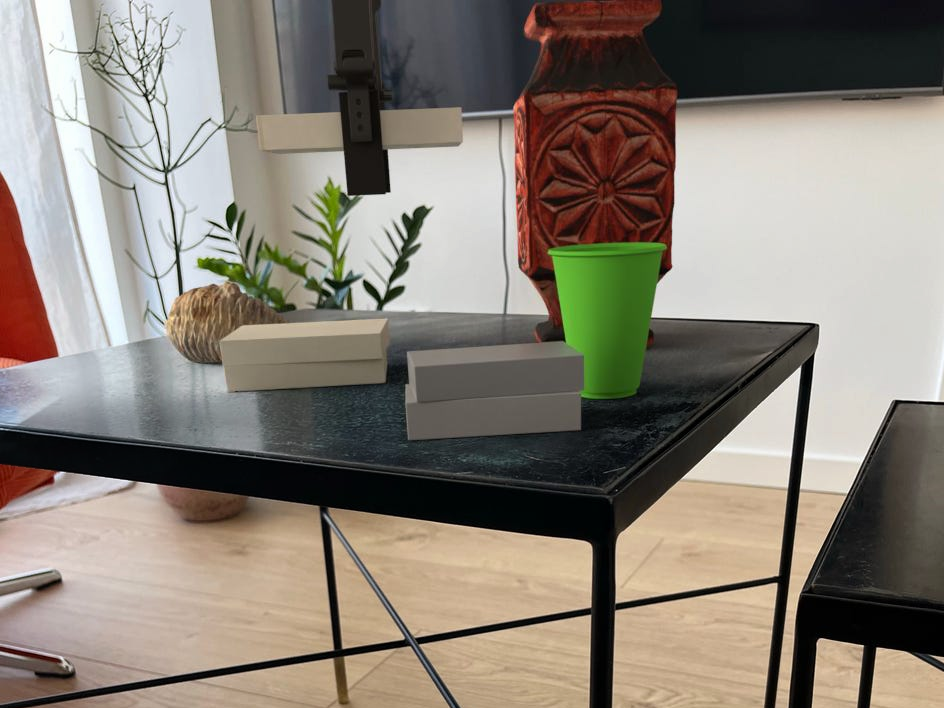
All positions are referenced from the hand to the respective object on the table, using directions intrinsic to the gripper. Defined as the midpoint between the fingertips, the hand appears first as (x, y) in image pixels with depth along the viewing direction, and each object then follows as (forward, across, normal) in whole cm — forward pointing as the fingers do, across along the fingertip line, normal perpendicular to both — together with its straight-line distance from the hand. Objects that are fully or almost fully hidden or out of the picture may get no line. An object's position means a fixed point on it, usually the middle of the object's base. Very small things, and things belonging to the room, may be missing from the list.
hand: (370, 194), depth 77 cm
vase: (+16, +23, -20) cm, 35 cm away
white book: (-3, 0, 0) cm, 3 cm away
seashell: (+16, +27, +18) cm, 36 cm away
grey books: (+15, -12, -8) cm, 21 cm away
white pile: (+16, +12, +7) cm, 21 cm away
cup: (+16, -3, -18) cm, 24 cm away
